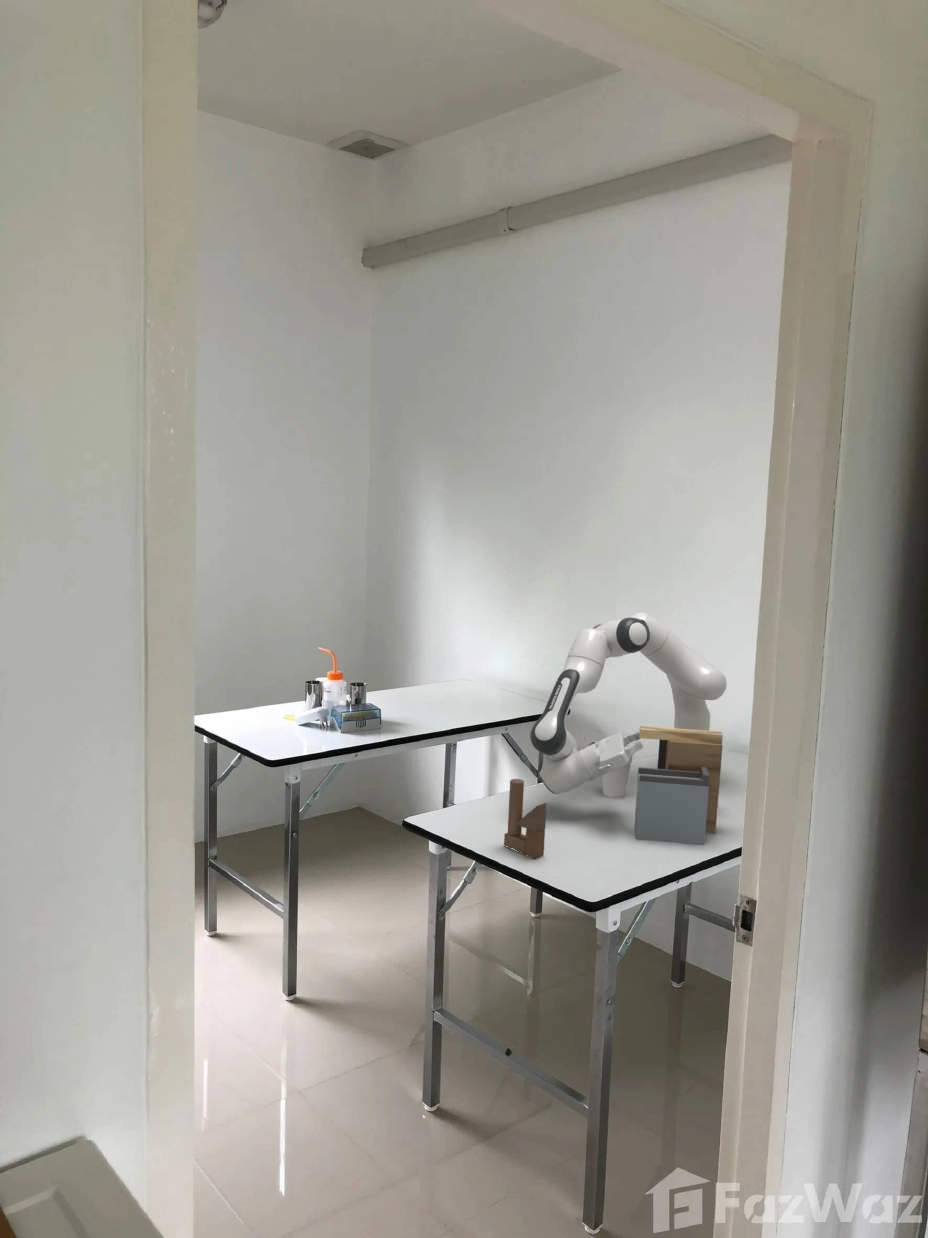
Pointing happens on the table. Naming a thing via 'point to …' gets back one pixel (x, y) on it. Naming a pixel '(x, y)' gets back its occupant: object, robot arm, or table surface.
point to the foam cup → (616, 781)
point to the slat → (680, 735)
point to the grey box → (671, 805)
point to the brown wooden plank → (693, 759)
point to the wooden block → (525, 823)
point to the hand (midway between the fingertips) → (641, 739)
